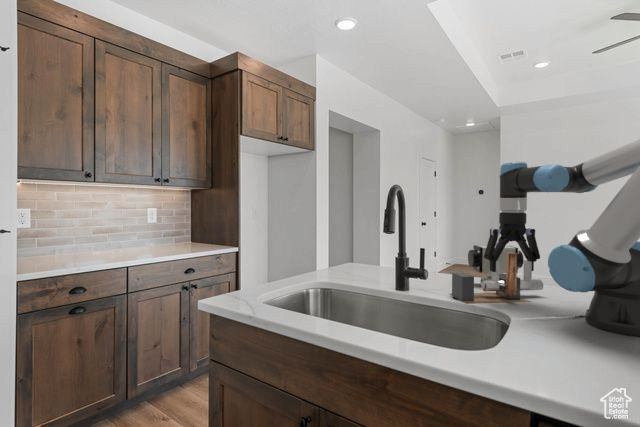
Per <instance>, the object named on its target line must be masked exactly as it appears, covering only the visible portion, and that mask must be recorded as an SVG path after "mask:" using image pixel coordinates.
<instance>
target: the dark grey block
mask: <svg viewBox="0 0 640 427" xmlns="http://www.w3.org/2000/svg"><path fill="white" fill-rule="evenodd" d="M451 275H452V276H451V294H452V296H451V297H453V296H454V297H453V298H454V299H457V300H459V301H460V300H461V302H462V301H474V293H475V276H473V275H471V274H468V273H466V272H464V271H463V272H451Z"/></svg>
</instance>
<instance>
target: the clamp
mask: <svg viewBox="0 0 640 427" xmlns="http://www.w3.org/2000/svg"><path fill="white" fill-rule="evenodd" d="M499 280H506V281H507V273H503V274H499ZM520 280H521V277H518V276H517V285H516V295H508V294H506V292H505V291H495V293H496V295H498V296H500V297H503V298H505V299H507V300H520V298H521V291H520Z"/></svg>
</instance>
